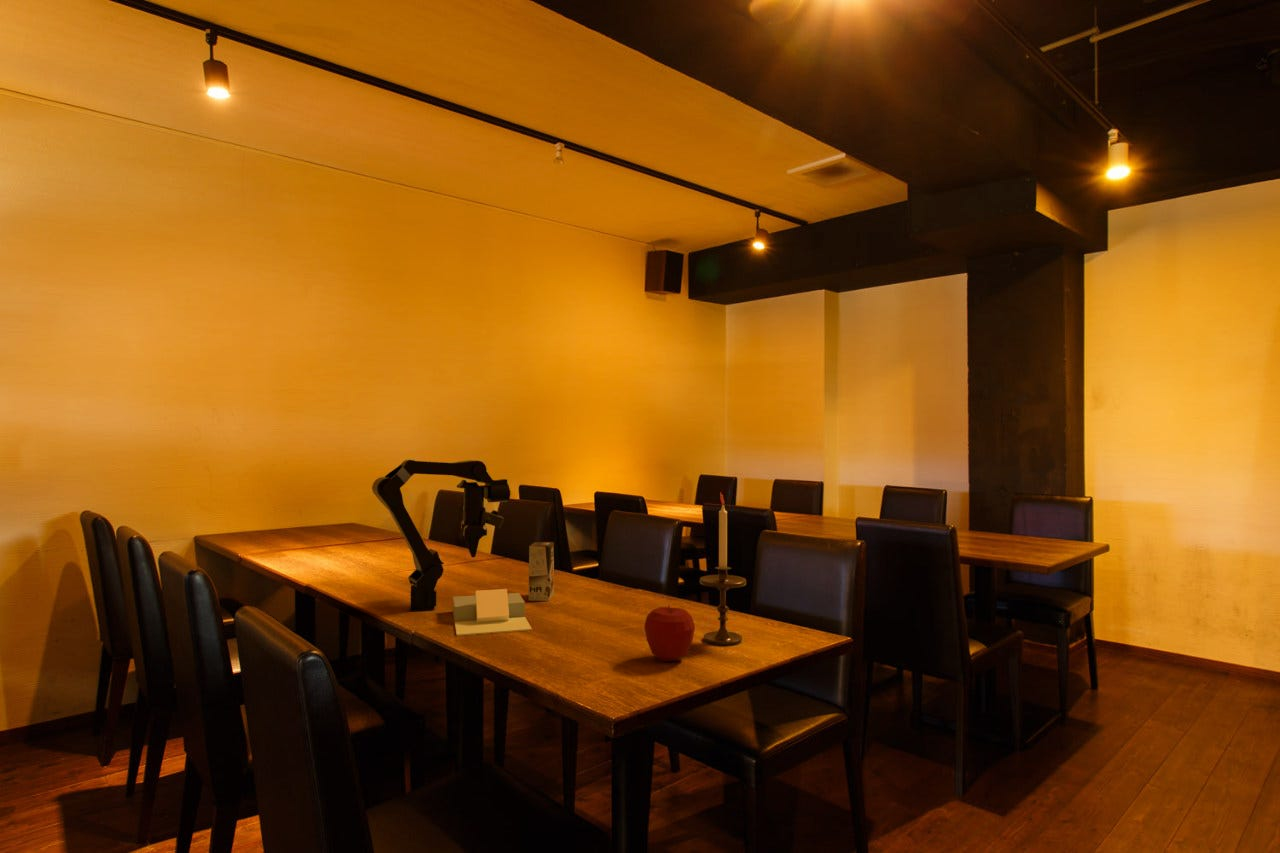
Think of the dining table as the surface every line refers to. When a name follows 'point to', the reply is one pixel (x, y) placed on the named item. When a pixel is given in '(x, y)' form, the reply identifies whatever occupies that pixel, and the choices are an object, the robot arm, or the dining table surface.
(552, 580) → the coffee box
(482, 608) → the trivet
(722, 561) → the candlestick
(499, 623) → the mat
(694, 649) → the dining table surface
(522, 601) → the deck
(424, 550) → the robot arm
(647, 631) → the apple
